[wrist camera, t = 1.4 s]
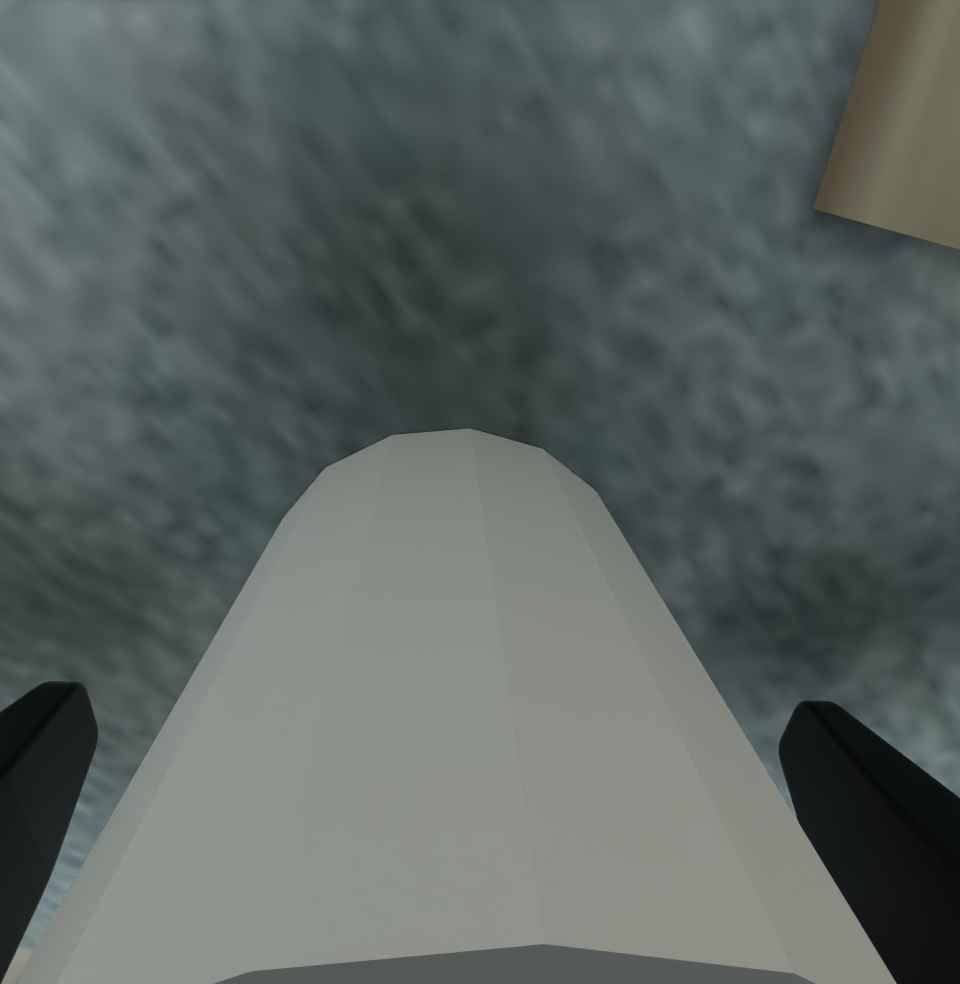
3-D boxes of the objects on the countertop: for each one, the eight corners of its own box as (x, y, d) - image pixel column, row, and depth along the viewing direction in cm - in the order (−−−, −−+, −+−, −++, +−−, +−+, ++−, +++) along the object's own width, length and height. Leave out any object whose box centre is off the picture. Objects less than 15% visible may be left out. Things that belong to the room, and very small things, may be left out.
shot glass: (143, 460, 9) (-419, 1135, 3) (626, 325, 9) (1063, 846, 3) (329, 763, 13) (227, 1362, 7) (684, 683, 12) (927, 1264, 6)
